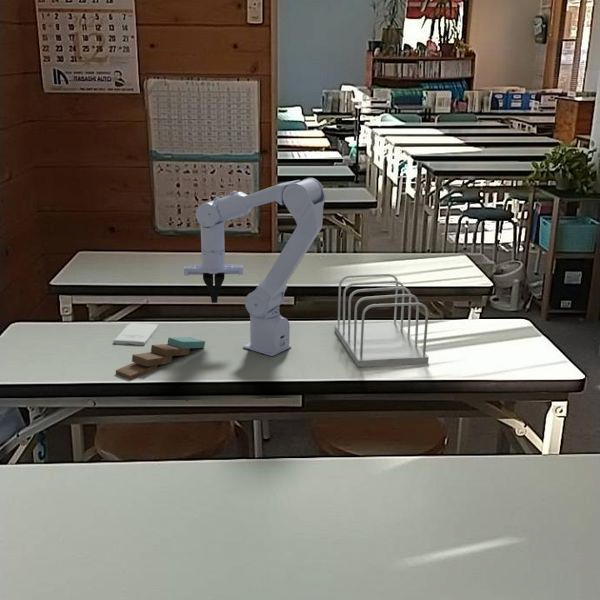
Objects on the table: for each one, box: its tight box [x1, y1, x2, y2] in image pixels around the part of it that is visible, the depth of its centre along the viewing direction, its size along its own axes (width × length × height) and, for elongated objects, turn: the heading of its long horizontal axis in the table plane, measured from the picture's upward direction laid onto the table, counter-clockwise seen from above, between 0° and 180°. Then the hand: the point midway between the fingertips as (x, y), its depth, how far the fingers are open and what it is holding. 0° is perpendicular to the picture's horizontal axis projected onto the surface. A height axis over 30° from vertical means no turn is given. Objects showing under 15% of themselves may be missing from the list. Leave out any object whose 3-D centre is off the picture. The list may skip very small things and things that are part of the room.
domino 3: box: [150, 343, 191, 357], centre depth 176 cm, size 2×5×8 cm
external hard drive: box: [112, 322, 160, 346], centre depth 190 cm, size 2×8×12 cm
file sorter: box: [333, 273, 429, 368], centre depth 183 cm, size 25×17×16 cm
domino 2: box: [131, 351, 173, 367], centre depth 172 cm, size 2×5×8 cm
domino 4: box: [167, 336, 206, 349], centre depth 181 cm, size 2×5×8 cm
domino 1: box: [115, 362, 158, 381], centre depth 169 cm, size 2×5×8 cm
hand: (214, 301), depth 186 cm, fingers closed
